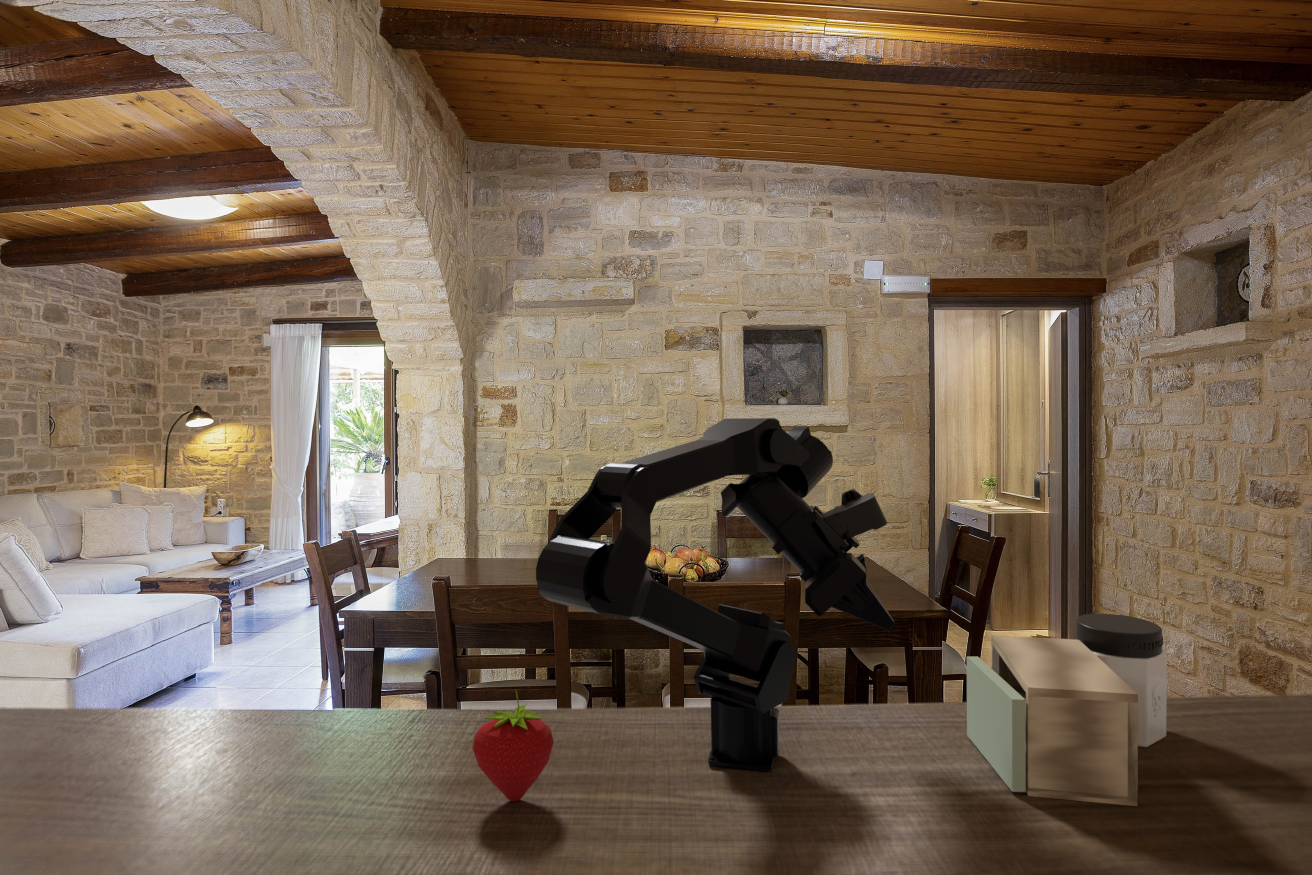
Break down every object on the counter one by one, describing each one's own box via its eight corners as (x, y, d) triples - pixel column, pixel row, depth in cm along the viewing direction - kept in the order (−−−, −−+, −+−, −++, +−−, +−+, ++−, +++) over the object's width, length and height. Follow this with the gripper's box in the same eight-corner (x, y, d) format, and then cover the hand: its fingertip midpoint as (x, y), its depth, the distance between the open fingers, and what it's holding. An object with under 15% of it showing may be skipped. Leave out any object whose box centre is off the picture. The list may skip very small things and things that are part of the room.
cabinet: (1028, 795, 68) (1028, 687, 68) (991, 723, 84) (991, 635, 83) (1137, 806, 66) (1137, 694, 66) (1078, 730, 81) (1078, 639, 81)
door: (1012, 791, 68) (1012, 699, 68) (967, 735, 80) (966, 656, 80) (1025, 791, 68) (1025, 699, 68) (978, 735, 80) (977, 656, 80)
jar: (1139, 754, 76) (1140, 639, 75) (1059, 727, 82) (1059, 621, 82) (1177, 732, 80) (1178, 624, 80) (1099, 708, 87) (1099, 608, 87)
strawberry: (482, 784, 72) (479, 683, 72) (558, 782, 72) (556, 682, 72) (466, 817, 66) (463, 707, 66) (550, 815, 66) (547, 706, 66)
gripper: (841, 474, 69) (966, 597, 67) (838, 461, 87) (936, 557, 85) (757, 554, 71) (875, 676, 69) (771, 525, 89) (865, 620, 87)
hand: (891, 626), depth 77 cm, fingers closed
